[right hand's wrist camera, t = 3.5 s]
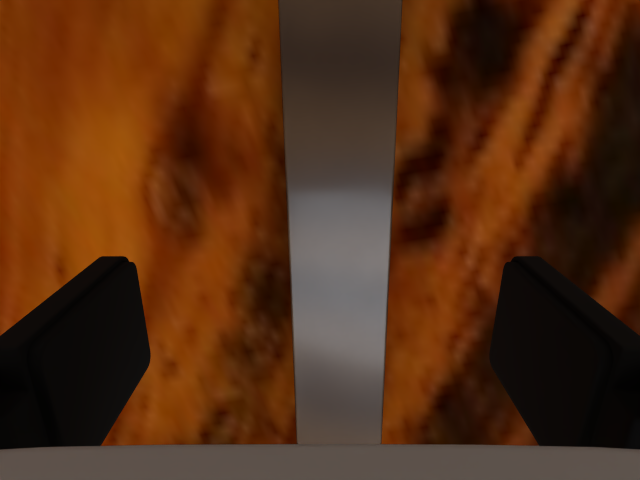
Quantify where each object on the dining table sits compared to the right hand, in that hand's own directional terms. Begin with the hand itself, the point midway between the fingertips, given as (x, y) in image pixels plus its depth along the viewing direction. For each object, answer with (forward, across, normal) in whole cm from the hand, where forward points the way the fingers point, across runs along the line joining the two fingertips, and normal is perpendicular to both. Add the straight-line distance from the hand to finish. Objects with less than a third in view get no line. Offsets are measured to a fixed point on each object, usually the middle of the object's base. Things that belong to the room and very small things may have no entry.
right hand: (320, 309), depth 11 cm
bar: (+17, +1, -22) cm, 27 cm away
